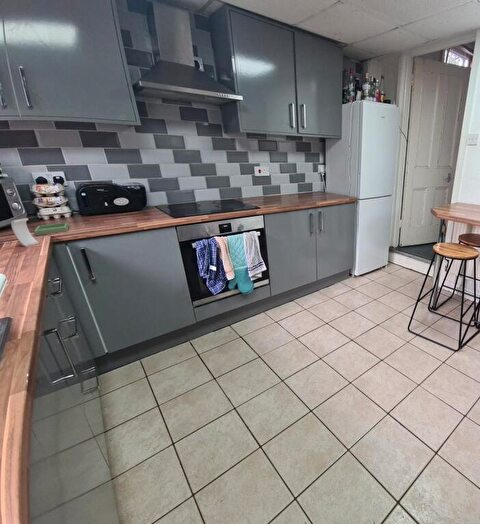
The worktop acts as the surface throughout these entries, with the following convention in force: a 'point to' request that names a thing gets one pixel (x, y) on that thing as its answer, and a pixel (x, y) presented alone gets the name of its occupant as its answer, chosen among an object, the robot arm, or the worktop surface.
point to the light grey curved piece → (23, 232)
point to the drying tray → (51, 228)
